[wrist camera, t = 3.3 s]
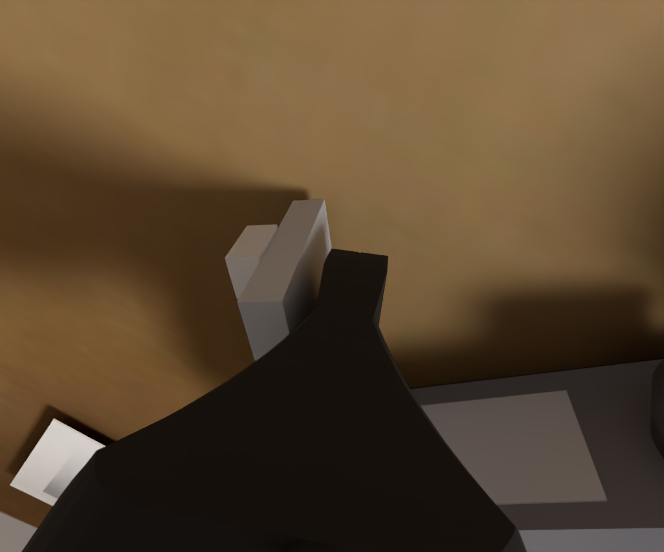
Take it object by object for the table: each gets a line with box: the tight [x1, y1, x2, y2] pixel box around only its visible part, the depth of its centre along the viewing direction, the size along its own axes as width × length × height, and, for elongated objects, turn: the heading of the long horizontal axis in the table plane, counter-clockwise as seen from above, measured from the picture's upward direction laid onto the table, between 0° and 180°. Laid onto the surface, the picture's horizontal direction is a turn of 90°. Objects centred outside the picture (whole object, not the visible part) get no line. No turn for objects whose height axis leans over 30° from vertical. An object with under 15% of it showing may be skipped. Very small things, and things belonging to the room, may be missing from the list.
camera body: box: [410, 359, 664, 552], centre depth 12 cm, size 9×12×5 cm
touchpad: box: [10, 419, 105, 506], centre depth 22 cm, size 8×15×2 cm, turn 52°
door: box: [225, 199, 332, 361], centre depth 11 cm, size 8×2×5 cm, turn 7°
